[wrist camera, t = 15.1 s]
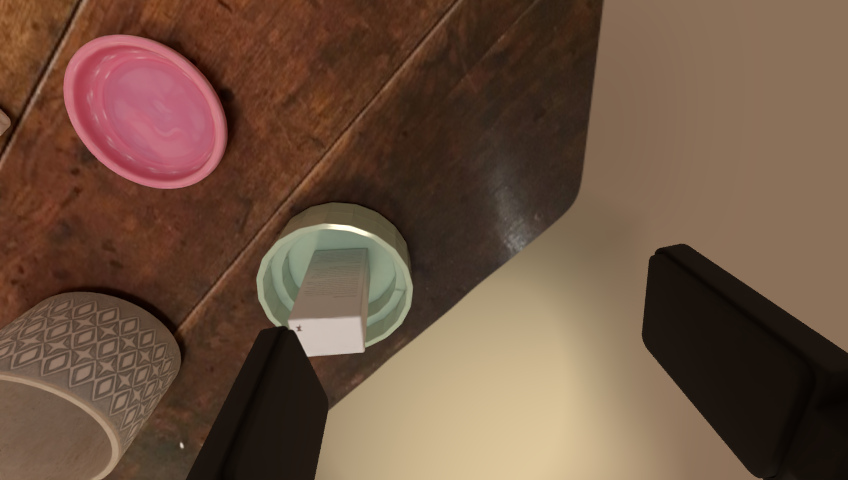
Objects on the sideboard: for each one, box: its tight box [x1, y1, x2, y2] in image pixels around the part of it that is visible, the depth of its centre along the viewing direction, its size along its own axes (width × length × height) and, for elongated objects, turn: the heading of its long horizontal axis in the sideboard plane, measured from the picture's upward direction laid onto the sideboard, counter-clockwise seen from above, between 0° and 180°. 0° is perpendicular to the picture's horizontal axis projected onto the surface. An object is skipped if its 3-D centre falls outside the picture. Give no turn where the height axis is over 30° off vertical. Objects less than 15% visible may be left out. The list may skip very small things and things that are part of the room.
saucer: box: [64, 35, 228, 189], centre depth 32 cm, size 12×12×3 cm
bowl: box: [257, 202, 413, 347], centre depth 39 cm, size 15×15×6 cm
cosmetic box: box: [288, 248, 370, 357], centre depth 36 cm, size 6×4×12 cm
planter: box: [0, 292, 181, 480], centre depth 39 cm, size 16×16×13 cm
